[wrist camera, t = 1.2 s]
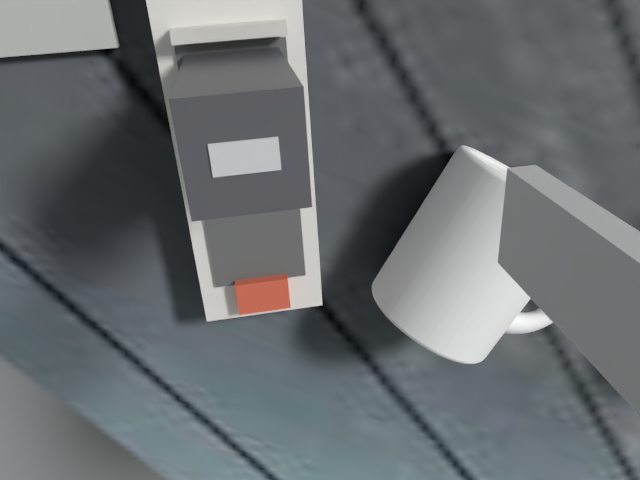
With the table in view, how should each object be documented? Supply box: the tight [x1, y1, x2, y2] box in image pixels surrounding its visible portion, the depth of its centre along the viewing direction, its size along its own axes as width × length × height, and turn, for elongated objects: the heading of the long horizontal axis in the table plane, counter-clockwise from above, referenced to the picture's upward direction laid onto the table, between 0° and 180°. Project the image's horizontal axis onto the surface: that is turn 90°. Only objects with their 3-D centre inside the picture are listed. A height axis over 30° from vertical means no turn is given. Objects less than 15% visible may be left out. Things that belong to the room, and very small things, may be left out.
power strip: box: [146, 0, 323, 321], centre depth 26 cm, size 34×7×4 cm, turn 4°
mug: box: [372, 145, 553, 364], centre depth 33 cm, size 12×10×8 cm
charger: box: [169, 47, 312, 222], centre depth 23 cm, size 4×4×9 cm
